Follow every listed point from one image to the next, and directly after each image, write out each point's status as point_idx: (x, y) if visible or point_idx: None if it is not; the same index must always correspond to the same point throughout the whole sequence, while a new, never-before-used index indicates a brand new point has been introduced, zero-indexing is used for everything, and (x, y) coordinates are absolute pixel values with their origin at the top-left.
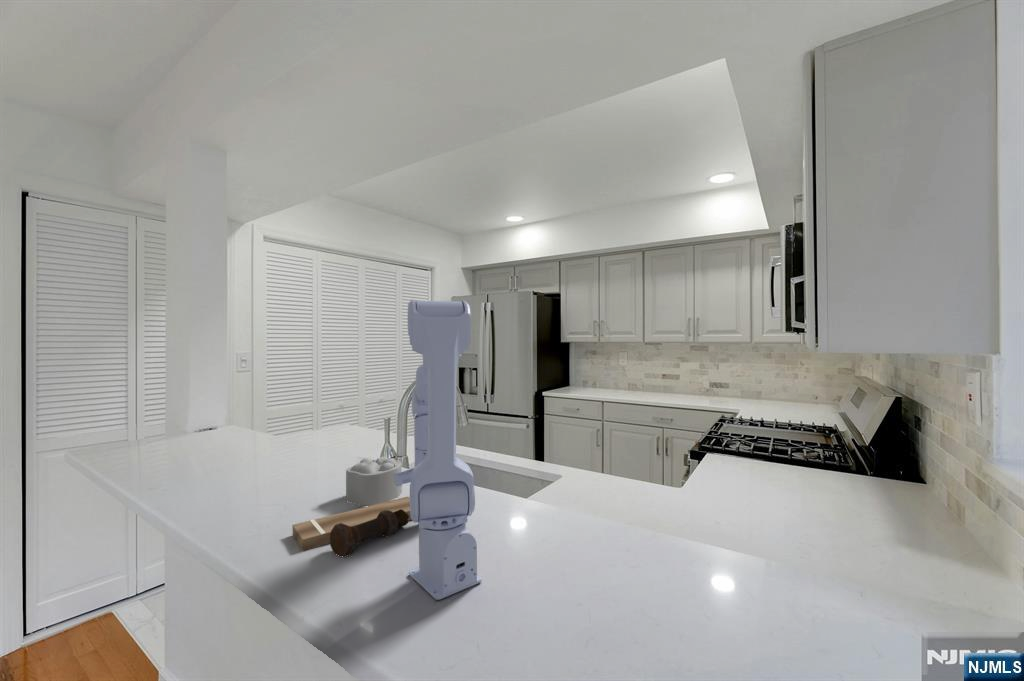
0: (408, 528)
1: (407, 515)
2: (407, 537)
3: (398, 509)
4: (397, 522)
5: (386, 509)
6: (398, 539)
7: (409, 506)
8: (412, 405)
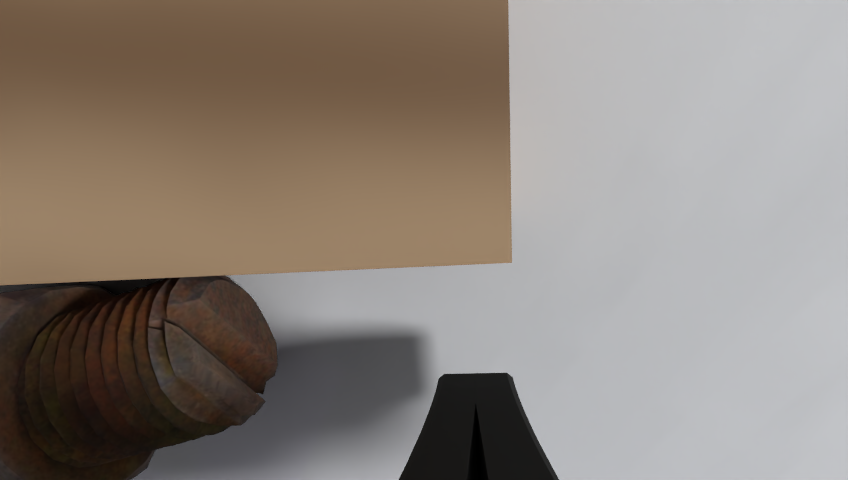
0: (287, 350)
1: (239, 422)
2: (249, 454)
3: (191, 150)
4: (137, 471)
5: (30, 54)
6: (189, 446)
7: (349, 136)
8: None
